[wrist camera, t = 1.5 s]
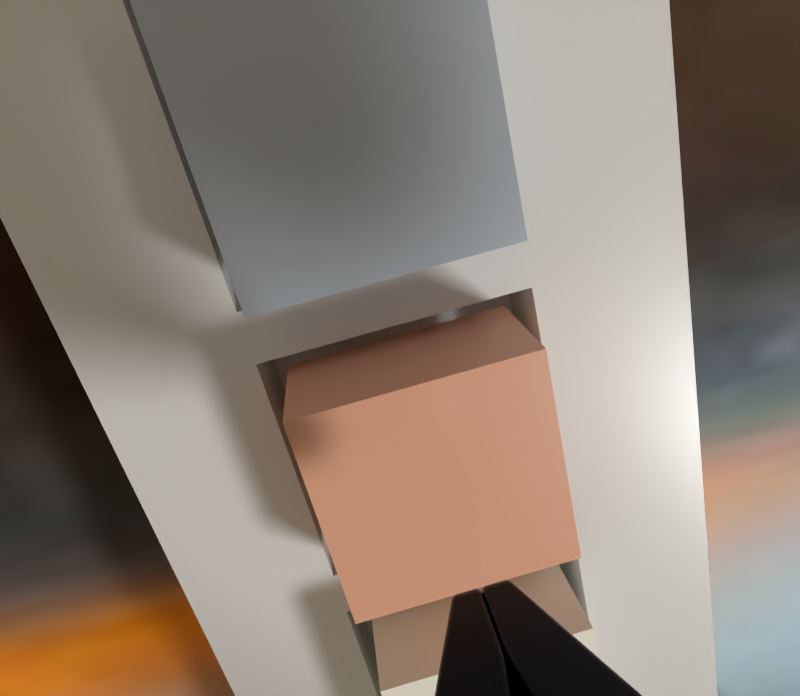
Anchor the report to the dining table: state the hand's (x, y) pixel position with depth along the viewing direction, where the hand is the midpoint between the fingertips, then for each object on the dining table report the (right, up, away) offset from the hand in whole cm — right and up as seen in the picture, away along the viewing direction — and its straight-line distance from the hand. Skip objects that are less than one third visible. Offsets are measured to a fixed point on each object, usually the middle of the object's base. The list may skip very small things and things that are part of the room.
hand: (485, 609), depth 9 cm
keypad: (-1, +1, +10) cm, 10 cm away
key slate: (-2, +8, +2) cm, 8 cm away
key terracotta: (-1, +2, +5) cm, 5 cm away
